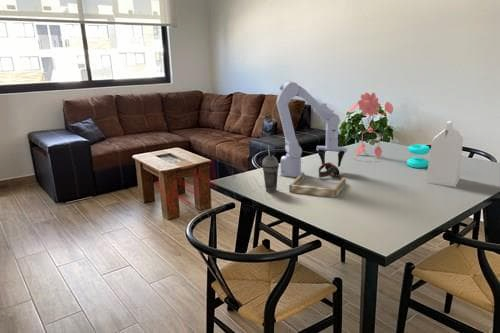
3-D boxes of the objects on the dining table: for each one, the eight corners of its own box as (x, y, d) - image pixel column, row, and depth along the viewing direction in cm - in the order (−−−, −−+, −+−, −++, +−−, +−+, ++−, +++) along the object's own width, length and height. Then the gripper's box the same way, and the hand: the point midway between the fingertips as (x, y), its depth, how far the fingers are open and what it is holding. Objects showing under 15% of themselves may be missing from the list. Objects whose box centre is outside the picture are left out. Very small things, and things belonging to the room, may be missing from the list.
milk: (431, 174, 175) (437, 118, 167) (459, 178, 168) (466, 120, 161) (425, 182, 166) (431, 123, 158) (455, 186, 159) (462, 125, 152)
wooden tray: (289, 191, 162) (289, 185, 161) (301, 179, 177) (301, 173, 176) (336, 197, 154) (336, 190, 153) (345, 183, 169) (345, 177, 168)
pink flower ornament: (352, 150, 221) (354, 89, 210) (395, 158, 202) (399, 91, 192) (337, 157, 211) (338, 93, 200) (380, 165, 193) (384, 96, 182)
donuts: (403, 146, 187) (415, 142, 193) (402, 165, 190) (414, 161, 195) (422, 149, 179) (434, 146, 185) (420, 170, 182) (432, 165, 188)
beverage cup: (268, 194, 160) (266, 148, 154) (259, 189, 166) (257, 145, 160) (282, 191, 163) (281, 146, 157) (274, 186, 169) (272, 142, 164)
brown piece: (343, 181, 173) (336, 168, 169) (324, 189, 176) (316, 176, 172) (339, 167, 183) (332, 154, 180) (321, 175, 186) (314, 162, 182)
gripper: (348, 137, 182) (347, 164, 186) (319, 135, 188) (318, 162, 192) (345, 140, 176) (345, 168, 180) (315, 138, 182) (315, 166, 186)
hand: (331, 165), depth 186 cm, fingers open, 7 cm apart
